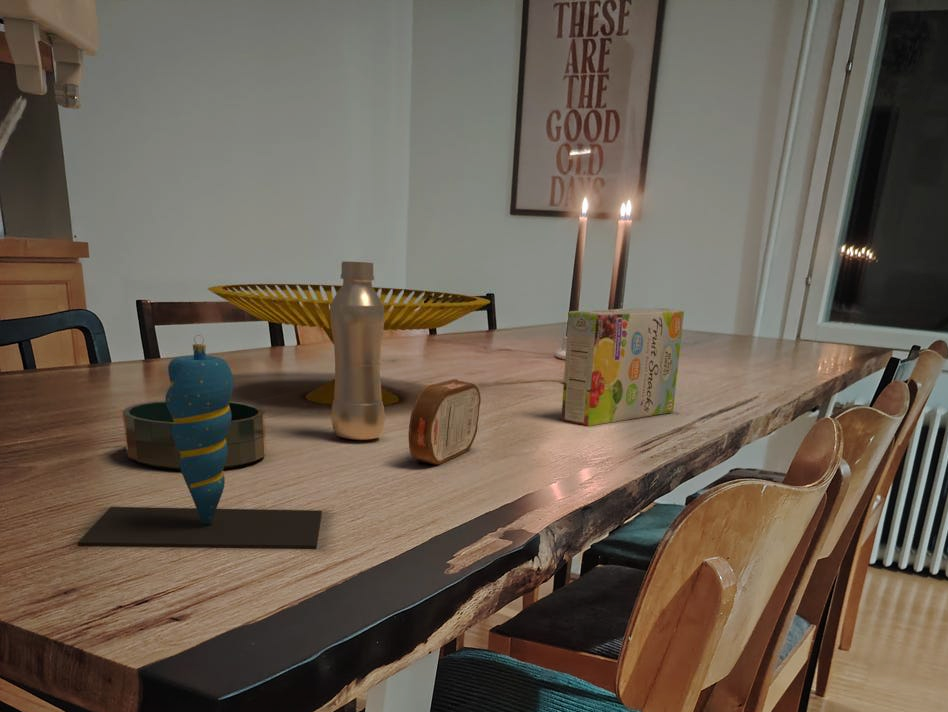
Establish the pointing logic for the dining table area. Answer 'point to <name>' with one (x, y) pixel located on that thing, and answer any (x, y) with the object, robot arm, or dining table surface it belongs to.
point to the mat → (205, 528)
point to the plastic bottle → (357, 354)
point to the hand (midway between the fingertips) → (52, 101)
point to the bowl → (157, 447)
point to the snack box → (620, 364)
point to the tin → (444, 421)
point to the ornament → (201, 424)
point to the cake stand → (319, 316)
